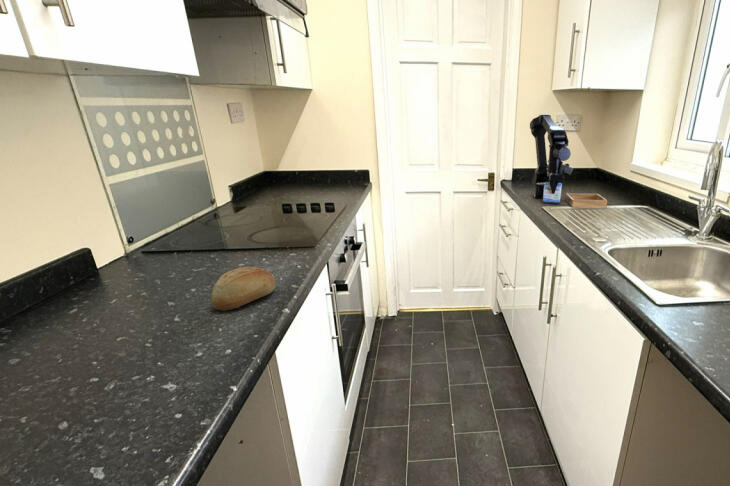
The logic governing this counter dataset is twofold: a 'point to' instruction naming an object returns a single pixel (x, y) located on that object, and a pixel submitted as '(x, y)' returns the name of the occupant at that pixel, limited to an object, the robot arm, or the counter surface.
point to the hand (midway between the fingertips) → (552, 192)
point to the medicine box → (548, 193)
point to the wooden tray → (586, 200)
